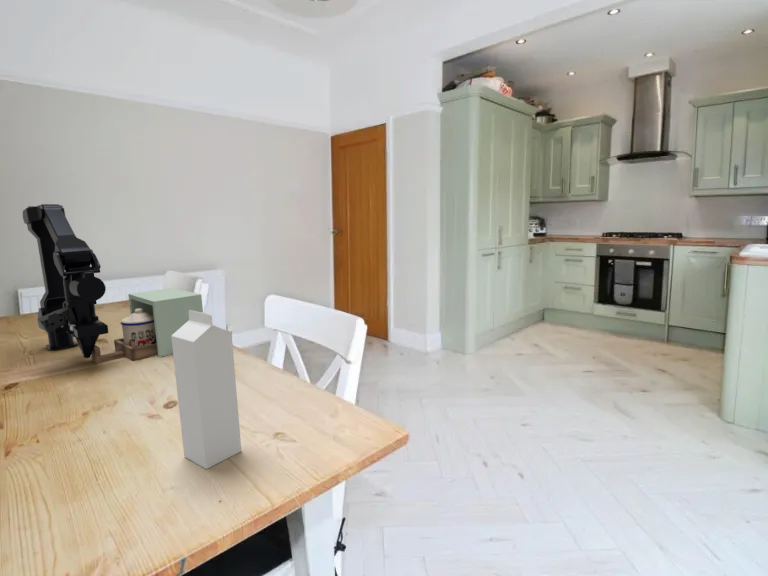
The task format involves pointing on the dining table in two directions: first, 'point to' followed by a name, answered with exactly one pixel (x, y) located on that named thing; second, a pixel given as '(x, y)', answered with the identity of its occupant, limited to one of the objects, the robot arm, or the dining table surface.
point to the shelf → (166, 312)
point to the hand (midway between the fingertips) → (87, 357)
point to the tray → (124, 352)
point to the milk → (206, 390)
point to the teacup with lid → (139, 329)
